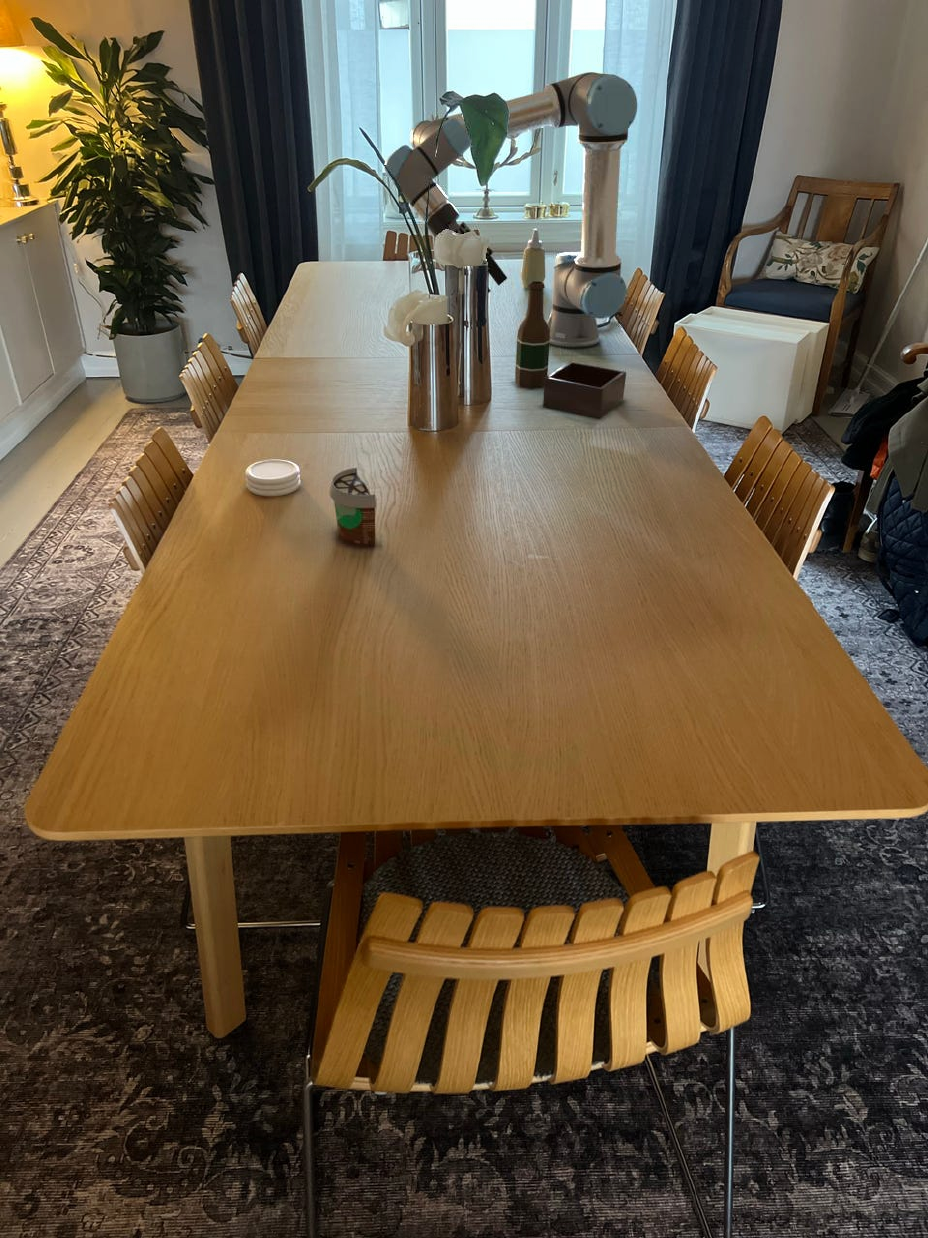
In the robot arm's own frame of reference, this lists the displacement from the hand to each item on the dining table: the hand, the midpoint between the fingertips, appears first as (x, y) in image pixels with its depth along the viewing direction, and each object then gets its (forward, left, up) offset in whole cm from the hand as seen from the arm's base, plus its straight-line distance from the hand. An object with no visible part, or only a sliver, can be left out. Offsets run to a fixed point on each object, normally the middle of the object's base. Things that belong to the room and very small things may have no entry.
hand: (494, 288), depth 224 cm
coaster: (+77, -5, -22) cm, 80 cm away
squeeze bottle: (-88, -32, -22) cm, 96 cm away
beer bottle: (-2, +10, -22) cm, 24 cm away
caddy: (+4, +26, -22) cm, 34 cm away
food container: (+86, +19, -22) cm, 91 cm away
